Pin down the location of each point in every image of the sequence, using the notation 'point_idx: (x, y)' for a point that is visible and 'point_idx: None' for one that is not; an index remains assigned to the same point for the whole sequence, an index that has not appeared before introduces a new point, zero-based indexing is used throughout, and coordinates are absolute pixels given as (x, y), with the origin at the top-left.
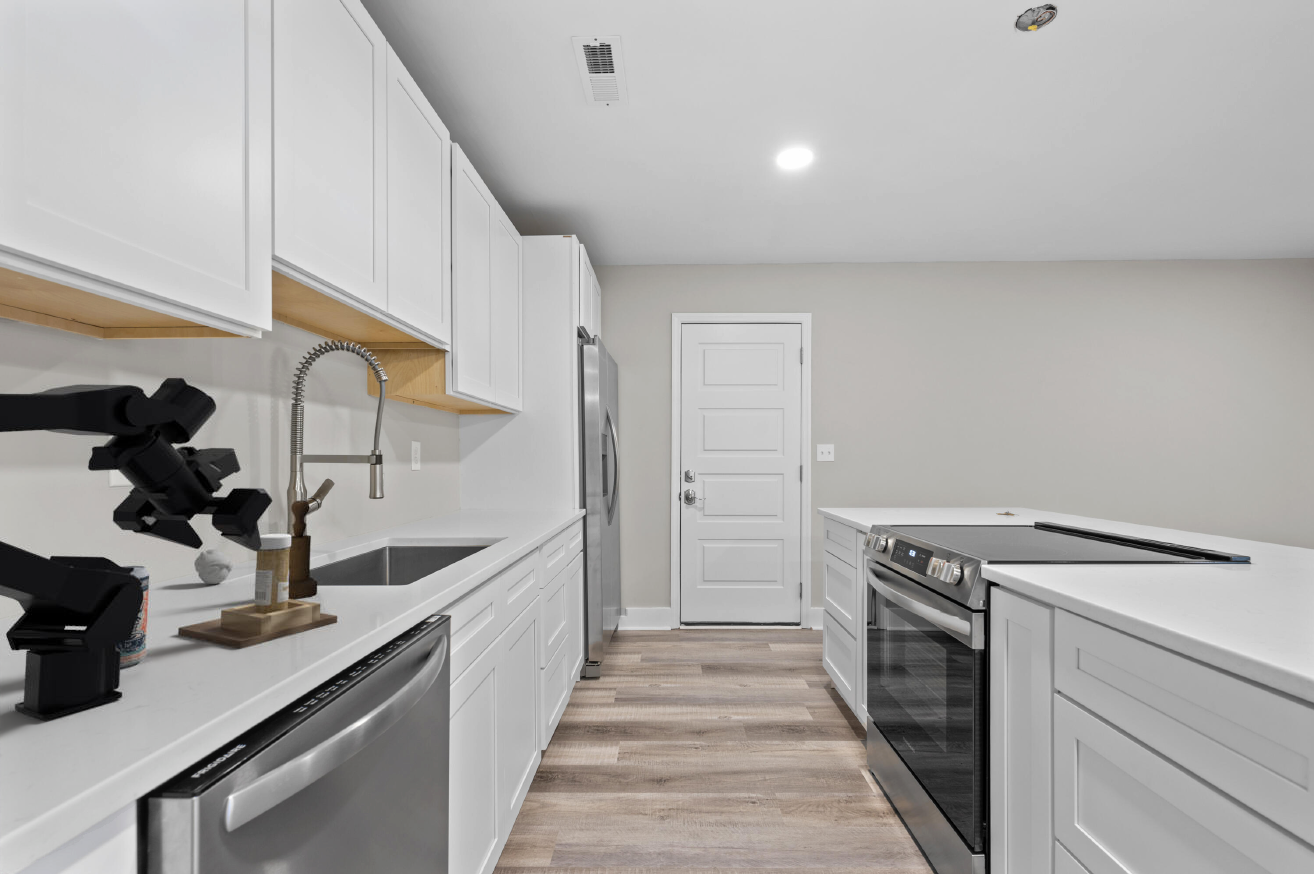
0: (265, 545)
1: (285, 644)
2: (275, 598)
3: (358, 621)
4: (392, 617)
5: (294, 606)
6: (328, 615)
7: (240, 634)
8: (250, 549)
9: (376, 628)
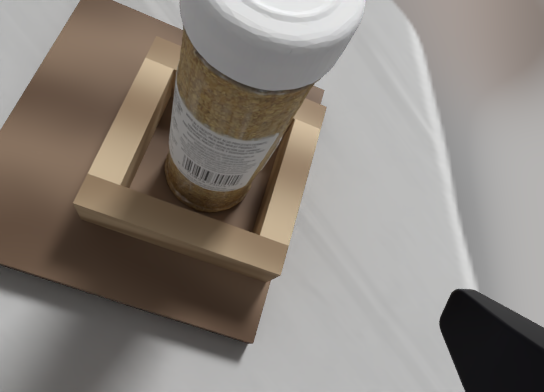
0: (287, 77)
1: (331, 289)
2: (259, 169)
3: (360, 91)
4: (408, 58)
5: None
6: None
7: (202, 282)
8: (458, 369)
9: (434, 143)
